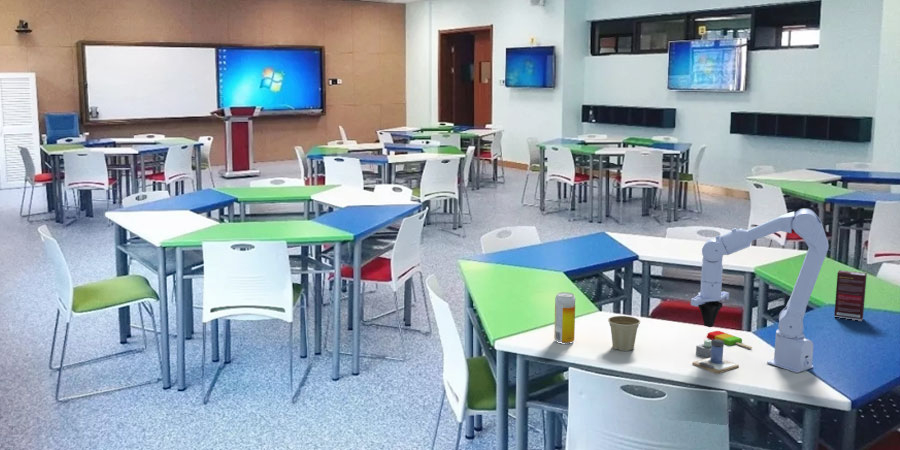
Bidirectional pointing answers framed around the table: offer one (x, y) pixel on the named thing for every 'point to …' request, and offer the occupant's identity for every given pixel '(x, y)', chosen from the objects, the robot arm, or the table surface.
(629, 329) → the flower pot
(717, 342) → the blue small bottle
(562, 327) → the beer can
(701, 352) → the button housing
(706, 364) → the clipboard
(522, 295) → the table surface
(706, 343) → the button
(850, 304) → the supplement box
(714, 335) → the popsicle
